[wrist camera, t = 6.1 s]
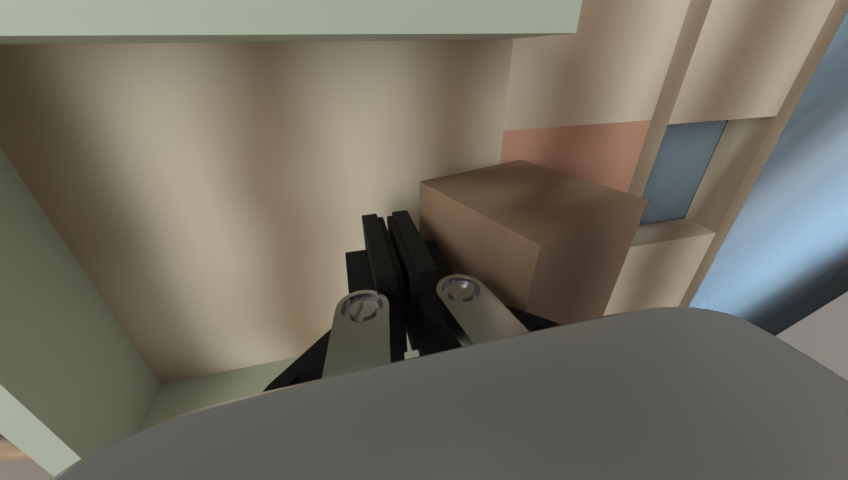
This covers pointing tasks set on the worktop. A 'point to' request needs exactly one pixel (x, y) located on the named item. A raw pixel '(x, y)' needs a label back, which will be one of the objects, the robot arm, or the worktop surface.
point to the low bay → (66, 279)
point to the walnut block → (533, 236)
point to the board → (377, 154)
